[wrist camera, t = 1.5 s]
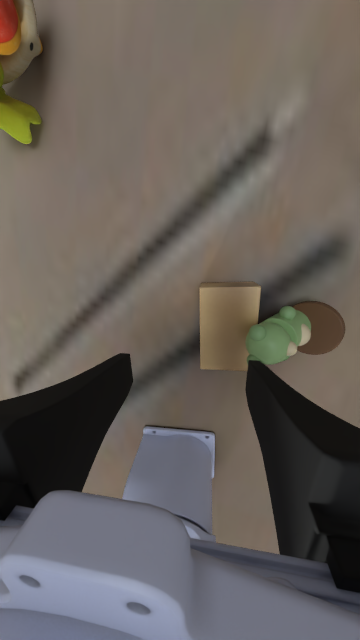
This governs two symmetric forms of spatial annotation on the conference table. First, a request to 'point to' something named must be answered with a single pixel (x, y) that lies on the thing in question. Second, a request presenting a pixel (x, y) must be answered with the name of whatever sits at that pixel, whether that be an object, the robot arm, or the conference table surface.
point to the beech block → (227, 323)
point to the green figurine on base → (295, 332)
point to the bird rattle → (17, 64)
